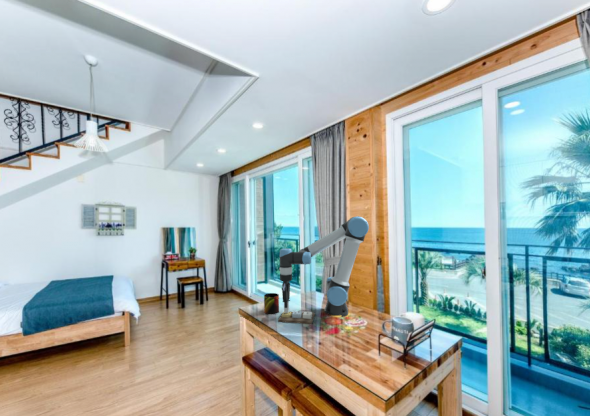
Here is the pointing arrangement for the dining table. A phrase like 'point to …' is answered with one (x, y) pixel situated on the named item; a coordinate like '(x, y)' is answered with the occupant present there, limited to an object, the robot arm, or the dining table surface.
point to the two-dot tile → (297, 314)
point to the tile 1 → (287, 314)
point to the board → (296, 319)
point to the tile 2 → (307, 315)
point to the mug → (271, 303)
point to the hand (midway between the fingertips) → (286, 312)
